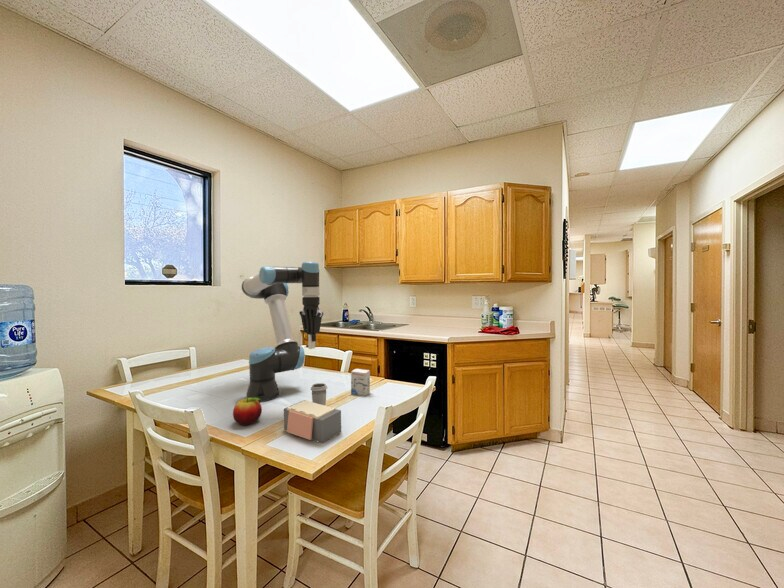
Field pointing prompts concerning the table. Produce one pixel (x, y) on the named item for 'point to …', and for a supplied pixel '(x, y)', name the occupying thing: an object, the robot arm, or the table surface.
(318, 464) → the table surface
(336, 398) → the table surface
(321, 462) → the table surface
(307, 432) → the pink rectangular panel
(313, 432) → the block
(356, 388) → the ink box
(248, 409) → the fruit
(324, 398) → the cup
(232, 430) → the table surface
